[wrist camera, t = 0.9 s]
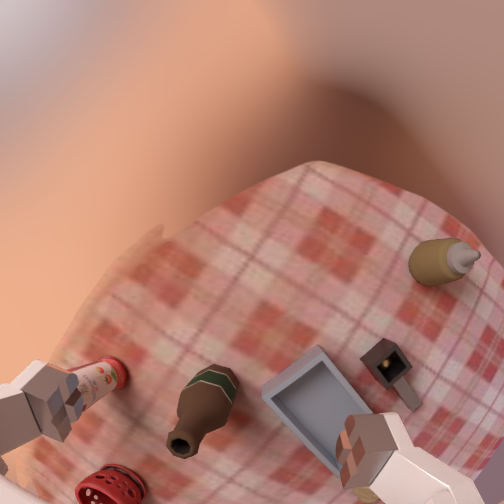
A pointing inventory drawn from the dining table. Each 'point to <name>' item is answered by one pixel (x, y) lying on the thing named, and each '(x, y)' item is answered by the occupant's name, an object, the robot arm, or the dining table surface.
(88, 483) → the plant pot
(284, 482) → the dining table surface
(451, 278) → the squeeze bottle
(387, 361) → the ball stud
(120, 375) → the liquor
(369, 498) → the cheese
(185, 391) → the beer bottle
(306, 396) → the bin
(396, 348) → the square brown scoop
